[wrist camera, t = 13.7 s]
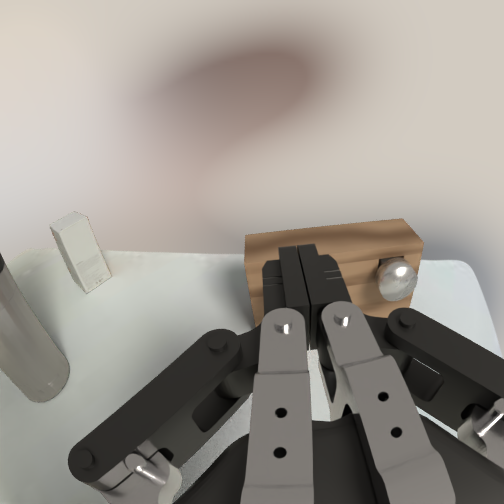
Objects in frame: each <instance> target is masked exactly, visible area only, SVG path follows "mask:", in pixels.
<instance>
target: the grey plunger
mask: <svg viewBox="0 0 504 504" xmlns="http://www.w3.org/2000/svg"><path fill="white" fill-rule="evenodd" d="M417 279H418V278H417V274H416V272H415V271H414V269H413V268H412V267H411V265H410V264H409V262H408V261H407V260H406V259H404V258H401V257H399V256H398V257H390V258H383V259H379V263H378V270H377V272H376V276H375V282H376V284H377V286H378V288H379V290H380V292H381V294H382V296H383V298H385V299H386V300H388V301H398V300H401V299H403V298H405V297H407V296H408V295H409V294H410V293H411V292H412V291H413V290H414V288H415V287H416V284H417Z"/></svg>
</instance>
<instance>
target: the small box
mask: <svg viewBox="0 0 504 504" xmlns="http://www.w3.org/2000/svg"><path fill="white" fill-rule="evenodd" d="M50 229H51V231H52V234H53V236H54V238H55V240H56V243H57V245H58V248H59V250H60V252H61V255H62V257H63V259H64V261H65V263H66V265H67V267H68V269H69V272H70V274H71V276H72V278H73V280H74V281H75V282H76V283H77V284H78V285H79V286H80V287H81V288H82V290H83V291H85V292H86V293H89V292H90V291H92V290H93V289H94V288H96V287H97V286H99V285H100V284H102V283H103V282H105V281H106V280H108V279H109V278H110V277H111V274H110V271H109V269H108V267H107V265H106V262H105V260H104V258H103V255H102V253H101V251H100V249H99V246H98V243H97V241H96V239H95V236H94V234H93V231H92V228H91V226H90V223H89V220H88V217H87V216H84V215H82V214H80V213H78V212H75V211H74V212H72V213H70V214H69V215H67V216H65V217H63V218H61V219H59V220H58V221H56V222H54V223H52V224H50Z"/></svg>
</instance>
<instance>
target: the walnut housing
mask: <svg viewBox="0 0 504 504" xmlns="http://www.w3.org/2000/svg"><path fill="white" fill-rule="evenodd" d="M304 244H315V246H316V248H317V251H318V254H319V255H325V254H329V255H330V256H331V257H332V258H334V259H335V260H336V261H337V264H338V266H339V269H340V271H341V274H342V278H343V279H344V282H345V284H346V287H347V289H348V292H349V295H350V297H351V300H352V303H353V304H355V305H356V306H358V307H359V308H360V309H361V311H362V313H363V314H366V315H369V316H374V317H383V318H388V316H389V314H390V313H391V312H392V311H393V310H395V309H397V308H403V307H405V308H409V306H410V303H411V299H412V295H413V291H414V290H413V291H412V292H411V293H410V294H409V295H408V296H407V297H405V298H403V299H401V300H398V301H388V300H386V299H385V298H383V296H382V294H381V292H380V290H379V288H378V286H377V284H376V282H375V276H376V272H377V270H378V263H379V259H383V258H390V257H398V256H399V257H401V258H404V259H406V260H407V261H408V262H409V264H410V265H411V267H412V268H413V269H414V271H415V272H416V274H418V270H419V265H420V260H421V255H422V250H423V245H424V242H423V241H422V240H421V239H420V237H419V236H418V235H417V234H416V233H415V232H414V231H413V229H412V228H411V227H410V226H409V225H408V224H407V223H406V222H405V221H404V219H392V220H381V221H372V222H361V223H351V224H342V225H332V226H322V227H312V228H303V229H294V230H286V231H276V232H267V233H259V234H250V235H246V236H245V257H244V265H245V271H246V276H247V282H248V288H249V293H250V299H251V304H252V310H253V315H254V321H255V326H256V327H257V326H258V325H259V324H260V323H261V322H262V320H263V317H264V301H263V281H262V268H263V266H264V264H265V263H266V261H269V260H278V259H279V252H278V247H285V246H295V245H296V248H297V245H304Z"/></svg>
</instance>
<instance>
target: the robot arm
mask: <svg viewBox="0 0 504 504" xmlns="http://www.w3.org/2000/svg"><path fill="white" fill-rule="evenodd" d="M278 252H279V259H278V260H269V261H266V263H265V264H264V266H263V268H262V281H263V301H264V317H263V320H262V322H261V323H260V324H259V325H258V326H257V327H256V328H255V329H253V330H251V331H249V332H246V333H243V334H241V335H238V336H237V335H236V334H235V333H234V332H233V331H230V330H227V329H216V330H212V331H209V332H207V333H206V334H204V335H203V336H202V337H201V338H200V339H198V340H197V341H196V342H195V343H194V344H193V345H192V346H191V347H189V348H188V349H187V350H186V351H185V352H184V353H183V354H182V355H180V356H179V357H178V358H177V359H176V360H175V361H174V362H173V363H171V364H170V365H169V366H168V367H167V368H166V369H165V370H163V371H162V372H161V373H160V374H159V375H158V376H157V377H155V378H154V379H153V380H152V381H151V382H150V383H148V384H147V385H146V386H145V387H144V388H143V389H142V390H140V391H139V392H138V393H137V394H136V395H135V396H133V397H132V398H131V399H130V400H129V401H128V402H126V403H125V404H124V405H123V406H122V407H120V408H119V409H118V410H117V411H116V412H115V413H113V414H112V415H111V416H110V417H109V418H107V419H106V420H105V421H104V422H103V423H101V424H100V425H99V426H98V427H97V428H95V429H94V430H93V431H92V432H90V433H89V434H88V435H87V436H86V437H84V438H83V439H82V440H81V441H79V442H78V443H77V444H76V445H75V446H74V447H73V448H72V449H71V451H70V453H69V457H68V466H69V469H70V472H71V473H72V475H73V476H74V477H75V478H76V479H78V480H79V481H81V482H83V483H85V484H87V485H89V486H91V487H92V488H94V489H96V490H98V491H99V492H101V494H102V495H103V496H104V497H105V498H106V500H107V501H108V502H109V503H110V504H172V500H173V497H174V495H175V494H176V493H177V491H178V490H179V489H180V487H181V484H182V476H181V473H180V471H179V468H180V467H181V466H182V465H183V464H184V463H185V462H186V461H187V460H188V459H190V458H191V457H192V456H193V455H194V454H195V453H196V452H197V451H198V450H199V449H200V448H201V447H202V446H203V445H204V444H205V443H206V442H207V441H208V440H209V439H210V438H211V437H212V436H213V435H214V434H215V433H216V432H217V431H218V430H219V429H220V428H221V427H222V426H223V425H224V423H225V422H226V421H227V420H228V419H229V418H230V417H231V416H232V415H233V414H234V413H235V412H236V411H237V410H238V409H239V407H240V406H241V405H242V404H243V403H244V402H245V401H246V400H247V399H248V397H249V396H250V394H251V393H253V398H252V410H251V421H250V433H249V434H246V435H245V436H243V437H241V438H239V439H238V440H236V441H235V442H233V443H232V444H231V445H230V446H228V447H227V448H226V449H225V450H224V451H223V453H222V454H221V455H220V456H219V457H218V458H217V459H216V460H215V461H214V462H213V464H212V465H211V466H210V467H209V468H208V469H207V470H206V471H205V472H204V473H203V474H202V475H201V476H200V477H199V478H198V479H197V480H196V481H195V482H194V484H193V485H192V486H191V487H190V488H189V489H188V490H187V491H186V492H185V493H184V494H183V495H182V496H181V497H179V498H178V499H177V500H176V501H175V502H174V503H173V504H504V359H502V358H501V357H499V356H497V355H495V354H494V353H492V352H490V351H488V350H487V349H485V348H483V347H481V346H480V345H478V344H476V343H474V342H473V341H471V340H469V339H467V338H465V337H464V336H462V335H460V334H458V333H457V332H455V331H453V330H451V329H449V328H448V327H446V326H444V325H442V324H440V323H438V322H437V321H435V320H433V319H431V318H429V317H427V316H426V315H424V314H422V313H420V312H418V311H416V310H414V309H411V308H405V307H403V308H397V309H395V310H393V311H392V312H391V313H390V314H389V316H388V318H383V317H374V316H369V315H366V314H363V313H362V311H361V309H360V308H359V307H358V306H356V305H355V304H353V303H352V300H351V297H350V295H349V292H348V289H347V287H346V284H345V282H344V279H343V278H342V274H341V271H340V269H339V266H338V264H337V261H336V260H335V259H334V258H332V257H331V256H330V255H329V254H325V255H319V254H318V251H317V248H316V246H315V244H304V245H297V248H296V245H295V246H285V247H278ZM309 344H310V350H314V349H317V350H318V355H319V361H318V367H319V371H320V375H321V378H322V382H323V386H324V389H325V393H326V397H327V400H328V404H329V409H330V422H327V421H314V420H312V416H311V393H310V376H309V371H308V361H307V350H309ZM414 358H415V359H416V360H415V359H414ZM417 360H418V361H417ZM419 361H420V362H421V363H420V362H419ZM422 363H423V364H425V365H426V366H425V365H423V364H422ZM427 366H428V367H430V368H431V369H430V368H428V367H427ZM0 368H1V370H2V371H3V372H4V373H5V374H6V375H7V376H8V377H9V379H10V380H11V381H12V382H13V383H14V384H15V385H16V386H17V387H18V388H19V389H20V390H21V391H22V392H23V393H24V394H25V395H26V396H27V397H28V398H29V399H30V400H32V401H34V402H45V401H47V400H50V399H51V398H53V397H54V396H56V395H57V394H58V393H59V392H60V391H61V390H62V388H63V387H64V385H65V384H66V381H67V379H68V376H69V364H68V361H67V360H66V358H65V357H64V356H63V354H62V353H61V352H60V350H59V349H58V348H57V346H56V345H55V344H54V342H53V341H52V339H51V338H50V336H49V335H48V334H47V332H46V331H45V329H44V328H43V326H42V325H41V323H40V322H39V320H38V319H37V317H36V316H35V314H34V313H33V311H32V309H31V308H30V306H29V305H28V303H27V301H26V300H25V298H24V296H23V295H22V293H21V291H20V290H19V288H18V286H17V284H16V282H15V281H14V279H13V277H12V275H11V273H10V272H9V270H8V268H7V266H6V264H5V262H4V260H3V258H2V256H1V254H0ZM432 369H433V370H435V371H436V372H435V371H433V370H432ZM437 372H438V373H439V374H438V373H437ZM440 374H441V375H440ZM415 405H416V406H417V407H419V408H420V409H422V410H423V411H425V412H426V413H428V414H430V415H431V416H433V417H434V418H436V419H437V420H439V421H441V422H442V423H444V424H445V425H447V426H449V427H450V428H452V429H453V430H455V431H457V436H458V439H457V438H456V437H454V436H453V435H452V434H450V433H449V432H447V431H446V430H444V429H443V428H441V427H440V426H438V425H437V424H435V423H434V422H433V421H431V420H430V419H428V418H427V417H425V416H423V415H421V414H419V413H418V411H417V408H416V406H415Z"/></svg>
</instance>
